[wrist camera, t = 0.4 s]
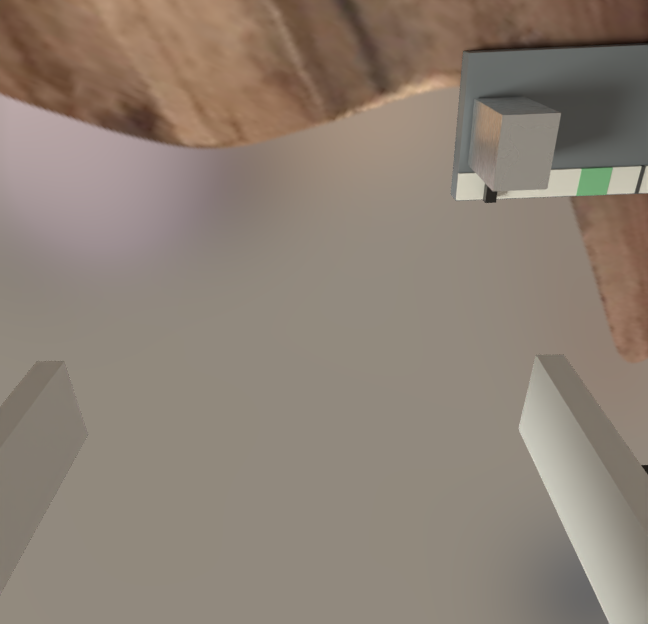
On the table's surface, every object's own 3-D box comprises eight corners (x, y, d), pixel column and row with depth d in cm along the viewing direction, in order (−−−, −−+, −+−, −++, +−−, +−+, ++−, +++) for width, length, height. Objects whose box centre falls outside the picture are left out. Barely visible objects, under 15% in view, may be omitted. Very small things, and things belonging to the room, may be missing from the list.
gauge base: (450, 194, 36) (483, 240, 29) (463, 51, 32) (505, 64, 25) (709, 183, 36) (808, 228, 29) (759, 38, 32) (892, 46, 24)
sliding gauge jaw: (464, 199, 35) (487, 230, 30) (474, 98, 32) (502, 115, 27) (509, 197, 35) (540, 228, 30) (523, 96, 32) (561, 112, 27)
